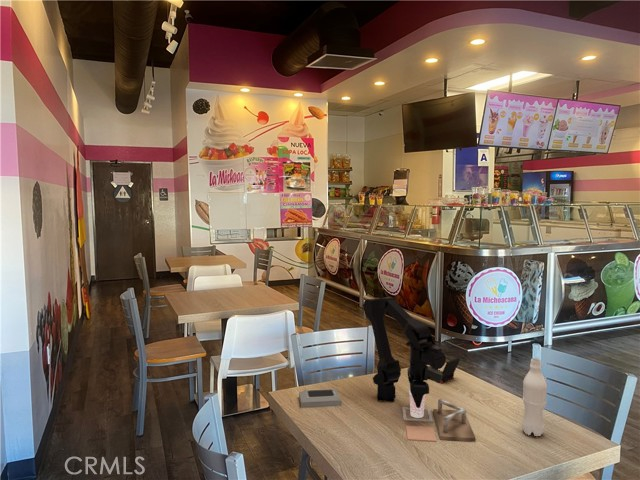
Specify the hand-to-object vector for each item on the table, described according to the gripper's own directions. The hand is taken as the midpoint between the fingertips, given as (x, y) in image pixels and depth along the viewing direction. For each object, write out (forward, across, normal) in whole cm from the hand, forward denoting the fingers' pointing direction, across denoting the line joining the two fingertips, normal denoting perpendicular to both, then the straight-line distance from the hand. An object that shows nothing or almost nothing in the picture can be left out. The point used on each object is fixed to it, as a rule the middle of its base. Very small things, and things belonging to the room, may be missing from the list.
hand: (417, 402), depth 171 cm
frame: (+4, 0, 0) cm, 4 cm away
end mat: (+4, -14, 0) cm, 15 cm away
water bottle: (+5, -9, -37) cm, 38 cm away
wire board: (+4, -7, -12) cm, 14 cm away
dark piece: (+5, +36, -13) cm, 39 cm away
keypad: (+5, +7, +36) cm, 37 cm away
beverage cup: (+5, 0, 0) cm, 5 cm away
